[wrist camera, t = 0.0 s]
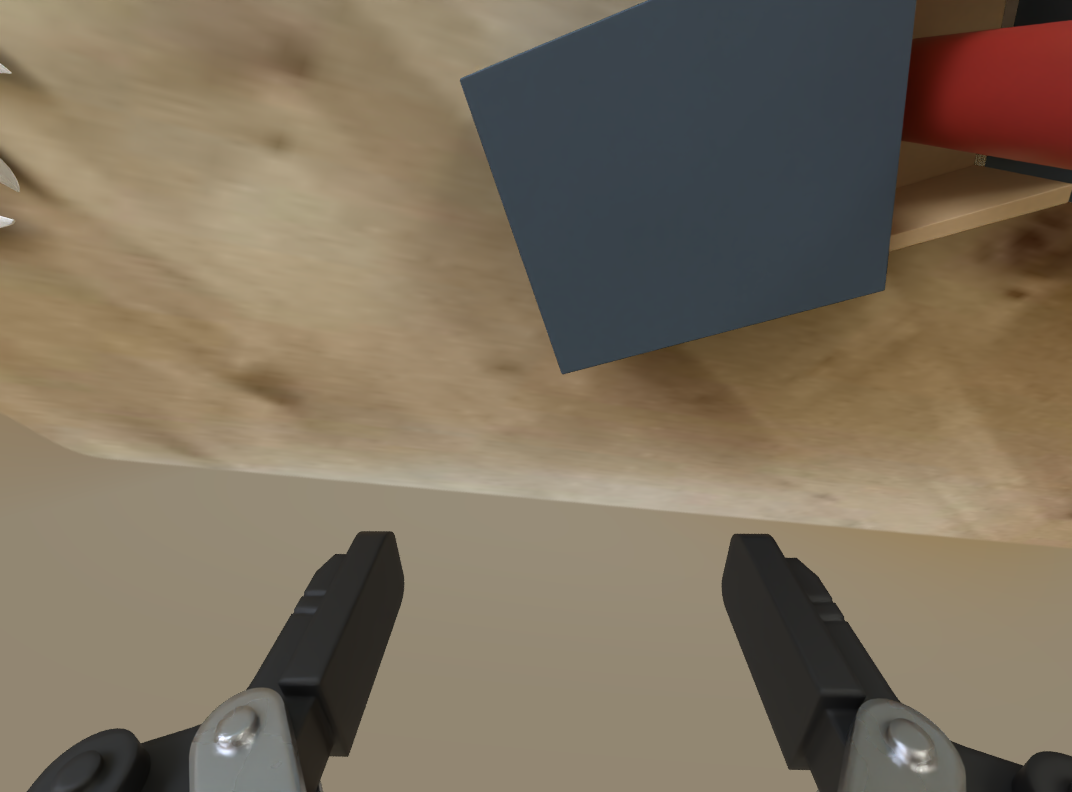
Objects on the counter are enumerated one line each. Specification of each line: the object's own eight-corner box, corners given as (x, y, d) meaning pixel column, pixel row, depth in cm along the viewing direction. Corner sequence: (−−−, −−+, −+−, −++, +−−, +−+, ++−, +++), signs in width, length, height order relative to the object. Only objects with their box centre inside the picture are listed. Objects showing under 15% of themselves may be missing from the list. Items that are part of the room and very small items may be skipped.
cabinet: (801, -51, 21) (930, -118, 14) (801, 237, 28) (885, 290, 21) (486, 79, 24) (459, 79, 17) (559, 308, 31) (562, 374, 24)
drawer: (1210, -200, 17) (1518, -330, 12) (1097, 147, 24) (1261, 167, 19) (712, 2, 21) (770, -26, 16) (733, 254, 28) (779, 297, 22)
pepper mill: (908, 18, 21) (1601, -102, 7) (967, 67, 21) (1677, 45, 8) (838, 111, 23) (1267, 157, 9) (894, 152, 24) (1358, 249, 10)
